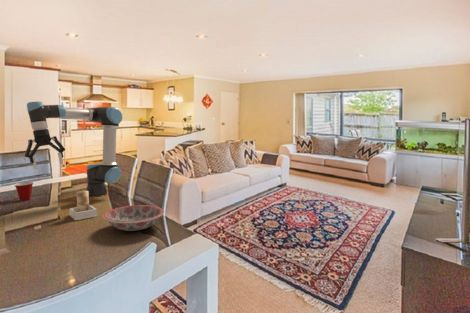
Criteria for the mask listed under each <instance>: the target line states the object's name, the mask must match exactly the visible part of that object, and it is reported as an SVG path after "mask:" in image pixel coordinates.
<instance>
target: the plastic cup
mask: <svg viewBox="0 0 470 313" xmlns="http://www.w3.org/2000/svg"><path fill="white" fill-rule="evenodd" d="M33 185H34V181H23V182H18V183H14V184H13V186H14V187H15V188H16V191H17V192H16V193H17V195H18V198H19V201H20V200H22V201H21V202H25V200H28V201H30V200H31V199H32V198H31V197H32V191H33Z"/></svg>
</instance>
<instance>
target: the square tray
mask: <svg viewBox="0 0 470 313" xmlns="http://www.w3.org/2000/svg"><path fill="white" fill-rule="evenodd" d="M69 216H70V217H71V219H73V220H74V221H79V220H84V219H90V218H94V217H95V218H96V217H98V208H96V207H94V206H93V205H90V204H89V210H88V211H82V212H77V206H76V207H71V208H69Z"/></svg>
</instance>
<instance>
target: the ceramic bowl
mask: <svg viewBox="0 0 470 313" xmlns="http://www.w3.org/2000/svg"><path fill="white" fill-rule="evenodd" d="M164 214H165V212H164V209H163V208H161V207H159V206H157V205H149V204H148V205H146V204H137V205H136V204H135V205H125V206H120V207H116V208H112V209H110V210H108V211H106V212H104V213H103V220H105V221H107V222H108V223H109V224H110V225H111V226H112V227H114V228H115V229H117V230H120V231H124V232H135V231H141V230H146V229H148V228H149V227H152V226H153V225H154V224H156V223H157V221H158V220H159V219H160V217H162V216H163V215H164Z"/></svg>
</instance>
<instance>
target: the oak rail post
mask: <svg viewBox="0 0 470 313" xmlns="http://www.w3.org/2000/svg"><path fill="white" fill-rule="evenodd" d="M89 198H90V197H89V191H86V190H78V191H76V207H77V212H82V211H88V210H89V205H90V199H89Z"/></svg>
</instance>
